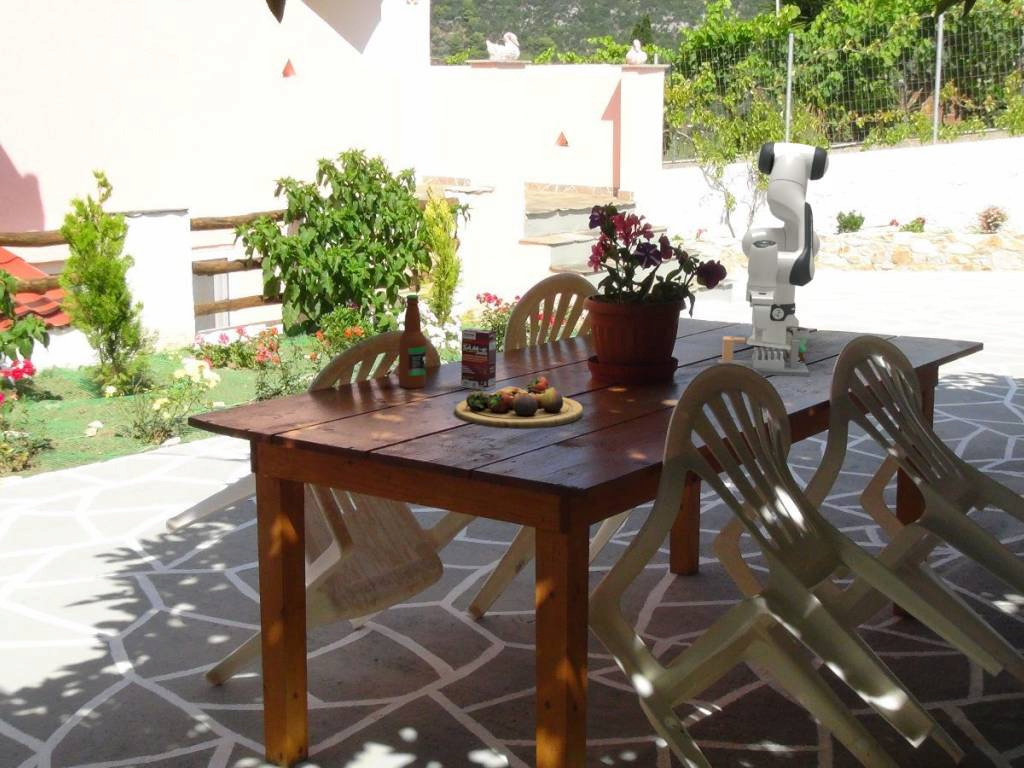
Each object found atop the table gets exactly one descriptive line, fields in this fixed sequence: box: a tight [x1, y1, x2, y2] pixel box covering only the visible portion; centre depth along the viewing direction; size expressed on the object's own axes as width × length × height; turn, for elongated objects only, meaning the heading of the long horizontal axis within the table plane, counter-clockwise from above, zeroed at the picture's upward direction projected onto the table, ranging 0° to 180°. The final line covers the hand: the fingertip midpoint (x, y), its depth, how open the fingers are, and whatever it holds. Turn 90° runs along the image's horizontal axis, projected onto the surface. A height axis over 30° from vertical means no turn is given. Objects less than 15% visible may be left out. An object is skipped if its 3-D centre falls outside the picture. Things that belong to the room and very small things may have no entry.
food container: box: [784, 326, 810, 363], centre depth 400 cm, size 12×6×10 cm, turn 179°
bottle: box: [398, 294, 427, 389], centre depth 348 cm, size 7×7×25 cm
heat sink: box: [717, 338, 810, 377], centre depth 383 cm, size 16×26×10 cm, turn 82°
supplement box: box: [460, 327, 498, 391], centre depth 349 cm, size 9×5×16 cm, turn 62°
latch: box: [721, 336, 747, 363], centre depth 384 cm, size 6×6×8 cm
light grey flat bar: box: [746, 340, 792, 350], centre depth 382 cm, size 3×15×1 cm, turn 82°
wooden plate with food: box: [454, 376, 584, 429], centre depth 319 cm, size 32×32×8 cm
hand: (758, 342), depth 382 cm, fingers closed, pressing on light grey flat bar
